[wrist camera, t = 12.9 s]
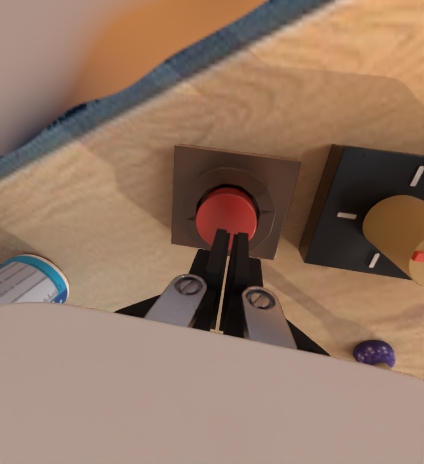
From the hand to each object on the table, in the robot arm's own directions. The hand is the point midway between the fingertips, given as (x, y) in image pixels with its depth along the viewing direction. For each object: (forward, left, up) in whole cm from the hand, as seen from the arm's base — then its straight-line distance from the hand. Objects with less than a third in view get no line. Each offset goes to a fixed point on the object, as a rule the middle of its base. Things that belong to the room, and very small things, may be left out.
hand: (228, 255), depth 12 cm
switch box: (0, 0, -10) cm, 10 cm away
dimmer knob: (-13, -1, -7) cm, 15 cm away
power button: (0, 0, -6) cm, 6 cm away
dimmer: (-13, -1, -10) cm, 16 cm away
